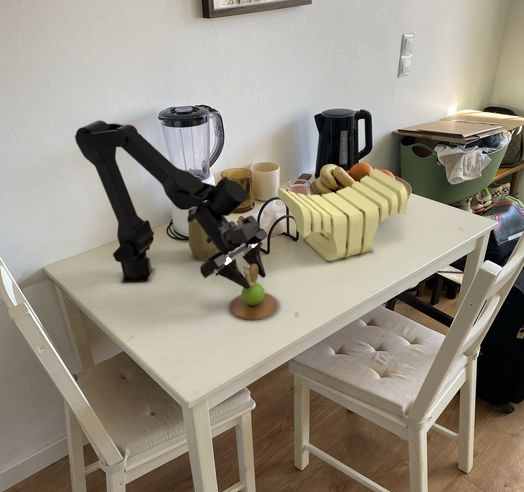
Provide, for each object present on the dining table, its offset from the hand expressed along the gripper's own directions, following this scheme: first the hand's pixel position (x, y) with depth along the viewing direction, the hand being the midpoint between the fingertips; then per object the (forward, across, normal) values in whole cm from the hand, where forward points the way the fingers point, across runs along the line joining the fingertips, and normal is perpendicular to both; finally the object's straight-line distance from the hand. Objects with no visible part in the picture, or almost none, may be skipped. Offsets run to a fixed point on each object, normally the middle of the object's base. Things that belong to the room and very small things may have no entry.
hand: (256, 282), depth 118 cm
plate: (+4, 0, +6) cm, 7 cm away
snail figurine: (+4, 0, +6) cm, 7 cm away
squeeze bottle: (-14, +12, +25) cm, 32 cm away
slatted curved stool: (+6, +36, +5) cm, 37 cm away
